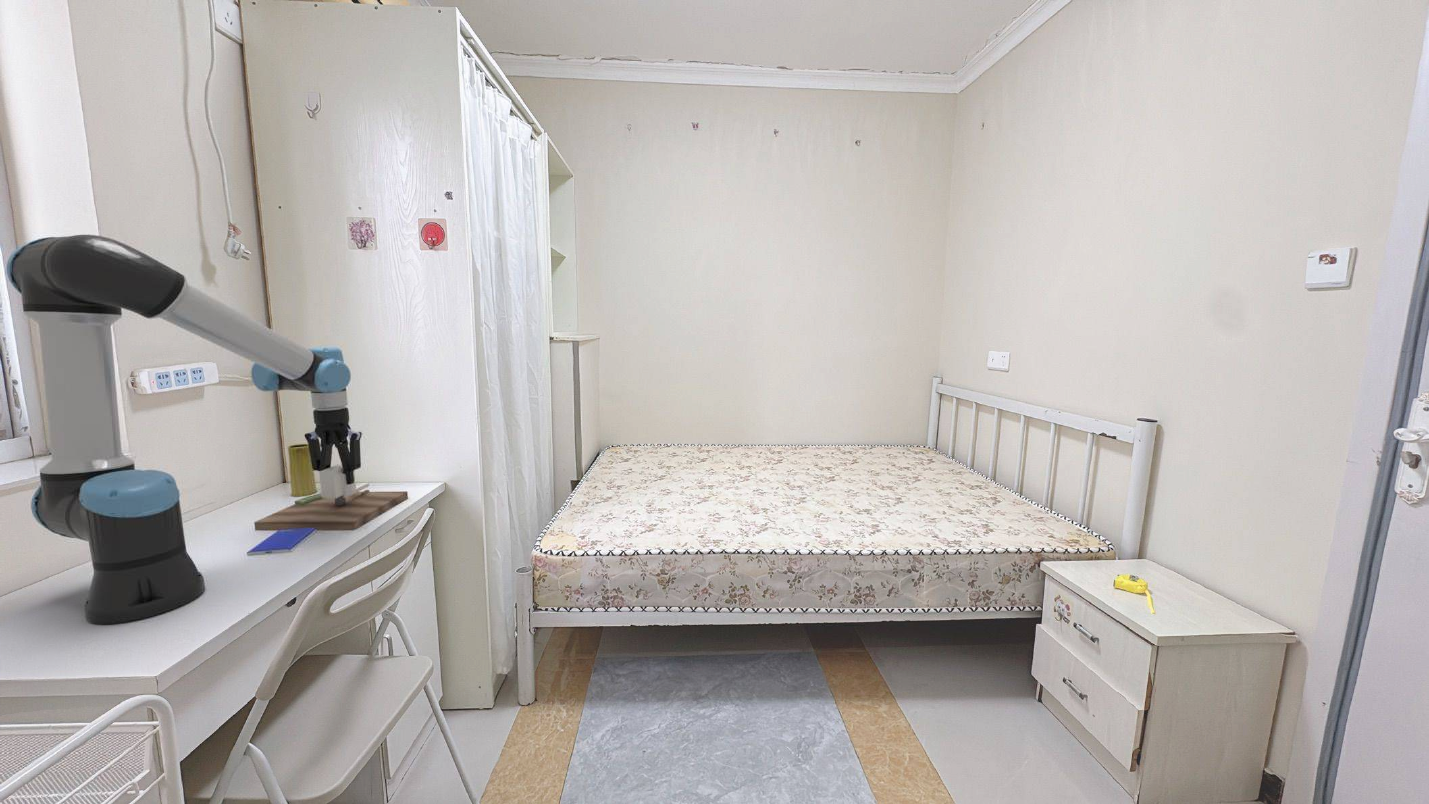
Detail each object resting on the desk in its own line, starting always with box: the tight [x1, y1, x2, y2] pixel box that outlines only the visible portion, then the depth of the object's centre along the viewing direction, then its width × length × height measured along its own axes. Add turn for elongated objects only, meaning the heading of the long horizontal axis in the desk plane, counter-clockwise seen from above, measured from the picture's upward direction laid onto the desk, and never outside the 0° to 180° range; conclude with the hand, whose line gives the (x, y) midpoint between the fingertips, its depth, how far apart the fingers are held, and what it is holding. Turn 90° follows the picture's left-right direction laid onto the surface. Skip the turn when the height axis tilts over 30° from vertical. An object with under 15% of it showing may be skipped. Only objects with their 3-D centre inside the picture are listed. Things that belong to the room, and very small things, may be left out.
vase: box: [287, 443, 318, 497], centre depth 163 cm, size 6×6×14 cm
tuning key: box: [318, 463, 370, 506], centre depth 150 cm, size 16×4×10 cm, turn 0°
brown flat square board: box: [253, 489, 409, 531], centre depth 147 cm, size 24×24×3 cm
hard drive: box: [246, 528, 317, 557], centre depth 128 cm, size 2×8×12 cm
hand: (339, 496), depth 147 cm, fingers closed on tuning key, 4 cm apart
